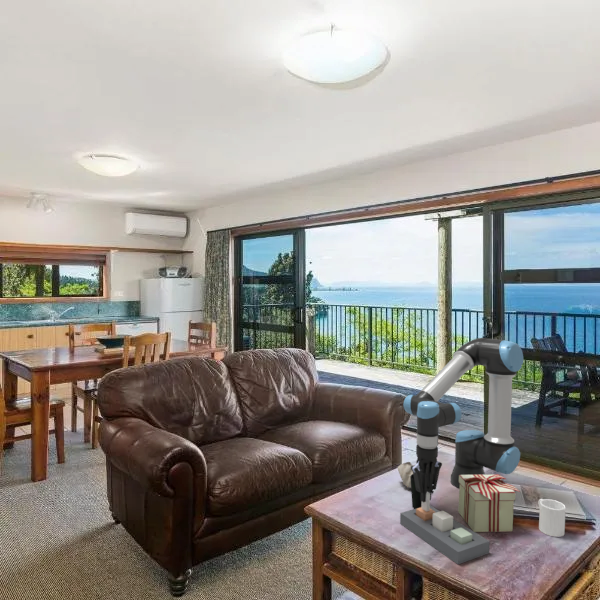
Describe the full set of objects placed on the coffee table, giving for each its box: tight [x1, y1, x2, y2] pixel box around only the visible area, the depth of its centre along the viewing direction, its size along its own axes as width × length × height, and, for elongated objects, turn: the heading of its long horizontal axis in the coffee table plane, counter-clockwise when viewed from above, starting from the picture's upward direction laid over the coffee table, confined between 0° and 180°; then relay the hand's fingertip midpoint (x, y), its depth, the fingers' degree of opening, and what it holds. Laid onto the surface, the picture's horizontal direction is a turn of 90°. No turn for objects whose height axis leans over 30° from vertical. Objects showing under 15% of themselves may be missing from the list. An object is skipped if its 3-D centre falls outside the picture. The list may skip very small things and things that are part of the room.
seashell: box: [397, 461, 416, 489], centre depth 206 cm, size 10×15×10 cm
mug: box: [537, 498, 566, 538], centre depth 174 cm, size 8×12×10 cm, turn 7°
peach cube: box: [416, 508, 435, 521], centre depth 175 cm, size 5×5×5 cm
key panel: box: [399, 504, 491, 565], centre depth 167 cm, size 14×28×4 cm, turn 28°
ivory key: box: [432, 510, 454, 532], centre depth 167 cm, size 5×5×5 cm
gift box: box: [457, 473, 521, 533], centre depth 177 cm, size 17×18×17 cm
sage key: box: [450, 528, 472, 545], centre depth 160 cm, size 5×5×5 cm
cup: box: [410, 474, 422, 509], centre depth 189 cm, size 8×8×12 cm
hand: (425, 509), depth 174 cm, fingers closed
